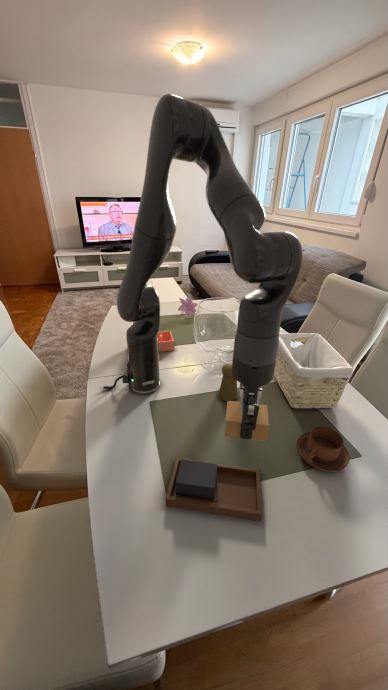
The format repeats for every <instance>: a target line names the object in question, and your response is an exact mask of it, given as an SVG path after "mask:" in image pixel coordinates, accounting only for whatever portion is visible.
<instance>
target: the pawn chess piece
mask: <svg viewBox="0 0 388 690" xmlns="http://www.w3.org/2000/svg"><path fill="white" fill-rule="evenodd" d="M221 374H222V378H221V382H220V386H219V390H218V397H219V398H220V399H221V400H223V401H225V402H227V401H236V400H237V399H238V397H239V395H238V393H239V392H238V381H237V380H236V379H235V378H234V377H233V375H232V362H227V363H224V364H223V365H222V367H221Z"/></svg>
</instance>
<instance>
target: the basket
mask: <svg viewBox="0 0 388 690" xmlns="http://www.w3.org/2000/svg"><path fill="white" fill-rule="evenodd" d="M295 342H299V343H300V342H302V344H300V345H298V346H296V347H292V345H291V344H292V343H295ZM353 371H354V368H353V367H352V365H350V363H349V362H348V361H347V360H346V359H345V358H344V357H343V356H342V355H341V354H340V353H339V352H338V351H337V350H336V349H335V348H334V347H333V346H332V345H331V344H330V343H329V342H328V341H327V340H326V338H324V336H322V335H321V333H317V332H315V333H311V332H310V333H309V332H290V333H289V332H287V333H285V332H281V333H280V332H279V346H278V353H277V359H276V364H275V370H274V378H275V380H276V382H277V384H278V386H279V387H280V389H281V391H282V393H283V395H284V397H285V398H286V400H287V402H288V403H289V406H290V407H291V408H293V409H328V408H330V409H332V408H336V407H337V406H338V404H339V402H340V400H341V398H342V396H343V393H344V391H345V389H346V385H347V384H348V383H349V381H350V378H352V377H353Z"/></svg>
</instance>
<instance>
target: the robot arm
mask: <svg viewBox="0 0 388 690" xmlns="http://www.w3.org/2000/svg"><path fill="white" fill-rule="evenodd" d="M151 119H152V120H151V125H150V132H149V138H148V148H147V155H146V163H145V171H144V178H143V185H142V190H141V196H140V202H139V206H138V210H137V214H136V219H135V223H134V227H133V233H132V238H131V245H130V248H129V254H128V259H127V263H126V266H125V271H124V274H123V277H122V280H121V282H120V286H119V289H118V292H117V296H116V310H117V312H118V315H119V317H120V318H121V320H123V321H124V322H128V323H132V324H131V325H130V326H129V327H128V328H127V330H126V333H125V337H126V347H127V357H128V360H127V363H126V368H125V371H124V372H123V373H122V375H120V376H118V377H116V379H115V380H114V382H113V385H112V386H109V385H103V389H105V390H112V389H115V388H116V386H117V384H118V381H120V380H121V379H122V384H127V385H128V390H131V391H133V393H136V394H141V395H148V394H152V393H154V392H156V391H157V390H159V389H160V386H161V382H160V380H161V379H160V363H159V362H160V360H159V359H160V358H159V357H160V356H159V352H158V332H160V328H161V302H160V296H159V294H158V291H157V289H156V288H155V287H154V286H152V285H151V284H148V282H149V281H150V280H151V278H152V277H153V276H154V275H155V273H156V272H157V271H158V270H159V268H160V267H161V266H162V265H163V264H164V262H166V261H165V260H166V259H167V258H168V256H169V254H170V251H171V249H172V246H173V242H174V239H175V236H176V233H177V218H176V215H175V214H176V213H175V211H174V206H173V203H172V200H171V197H170V192H169V178H170V170H171V166H172V163H173V160H177V161H182V162H185V163H194V164H195V165H197V166H198V167H199V168H201V170H202V171H203V172H204V173H205V175H206V181H205V199H206V203H207V205H208V208H209V210H210V212H211V214H212V215H213V218H214V219H215V221H216V222H217V224H218V226H219V227H220V228H221V230H222V232H223V235H224V239H225V244H226V248H227V251H228V255H229V260H230V264H231V267H232V270H233V272H234V273H235V275H236V276H237V277H238V278H239V279H241V280H242V281H243V282H245V283H248V284H253V285H254V284H258V286H257V287H256V288H255V289H254V290H252V291H251V292H249V293H247V294H246V295H244V296H242V297H241V298H240V302H239V306H238V315H237V323H236V332H235V336H234V340H233V341H234V342H233V350H232V353H233V354H232V362H231V363H232V375H233V377H234V378H235V379H236V380H237V383H239V392H238V393H239V397H240V398H239V402H240V412H242V416H241V420H240V422H241V425H240V426H241V429H240V438H239V439H243V440H252V439H251V438H252V431H253V430H255V428H256V422H257V417H258V412H259V408H260V407H259V404H260V401H261V399H262V395H263V388H261V387H263V386H266V385H269V384H270V383H271V382H272V381H273V379H274V377H275V375H274V370H275V364H276V359H277V353H278V346H279V333H280V331H281V325H282V320H283V319H282V318H283V311H284V309H285V306H286V304H287V303H288V300H289V299H290V296H291V294H292V292H293V290H294V288H295V286H296V285H295V284H296V283H297V281H298V278H299V276H300V274H301V273H300V272H301V269H302V266H303V259H304V258H303V256H304V255H303V247H302V244H301V241H300V239H299V238H298V237H297V236H296V235H295V234H294V233H292V232H289V231H270V232H259V231H260V230H261V229H262V228H263V226H264V223H265V221H266V211H265V208H264V207H263V204H262V203H261V201H260V200H259V199H258V197H257V196H256V194H255V192H254V191H253V190H252V188H251V187H250V186H249V184H248V183H247V182H246V180H245V179H244V177H243V175H242V174H241V173H240V170H239V169H238V167H237V166H236V164H235V161H234V159H233V158H232V155H231V153H230V150H229V147H228V145H227V143H226V140H225V139H224V136H223V134H222V131H221V128H220V127H219V124H218V122H217V119H216V117H214V114H213V113H212V112H211V110H210V109H209V108H208V107H206V106H204V105H202V104H200V103H199V102H194V101H191V100H189V99H187V98H183V97H181V96H178V95H176V94H171V93H166V94H163V95H162V96H161V97H160V98H159V100H158V101H157V104H156V105H155V108H154V112H153V116H152V118H151ZM243 403H244V405H243Z"/></svg>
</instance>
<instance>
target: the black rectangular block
mask: <svg viewBox="0 0 388 690" xmlns="http://www.w3.org/2000/svg"><path fill="white" fill-rule="evenodd" d="M185 459H186V458H182V459H181V463H180V467H179V471H178V475H177V479H176V495H180V496H187V497H193V498H199V499H206V500H212V501H214V493H215V484H216V474H217V464H218V463H216V464H213V463H214V462H209V463H206V462H207V461H202V462H199V461H200V460H195V461H192V460H193V459H188V460H185Z"/></svg>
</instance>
